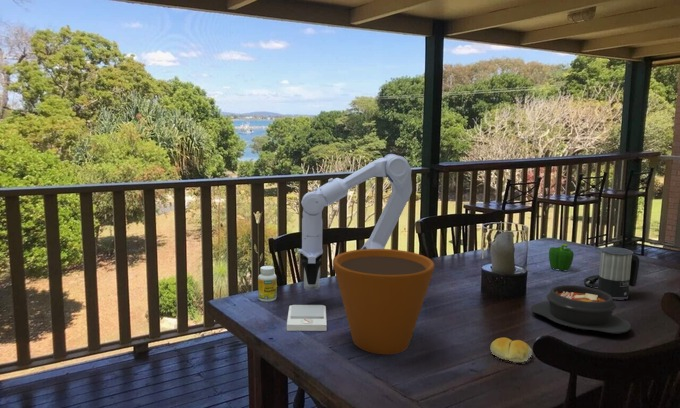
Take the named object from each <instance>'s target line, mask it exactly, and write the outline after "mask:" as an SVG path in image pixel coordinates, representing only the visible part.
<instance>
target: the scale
mask: <svg viewBox="0 0 680 408" xmlns="http://www.w3.org/2000/svg"><path fill="white" fill-rule="evenodd" d="M327 325H328V324H327V307H326V305H324V304H292V305H289V307H288V314H287V320H286V331H287V332H291V331H292V332H293V331H294V332H307V331H308V332H327Z"/></svg>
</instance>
